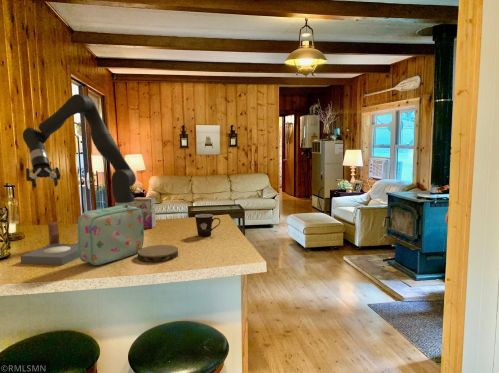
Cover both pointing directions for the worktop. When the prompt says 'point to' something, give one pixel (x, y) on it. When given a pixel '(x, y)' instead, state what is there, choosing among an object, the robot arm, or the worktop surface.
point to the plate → (52, 254)
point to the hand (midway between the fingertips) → (45, 186)
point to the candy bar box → (147, 210)
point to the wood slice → (157, 253)
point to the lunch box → (110, 234)
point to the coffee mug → (205, 224)
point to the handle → (53, 233)
